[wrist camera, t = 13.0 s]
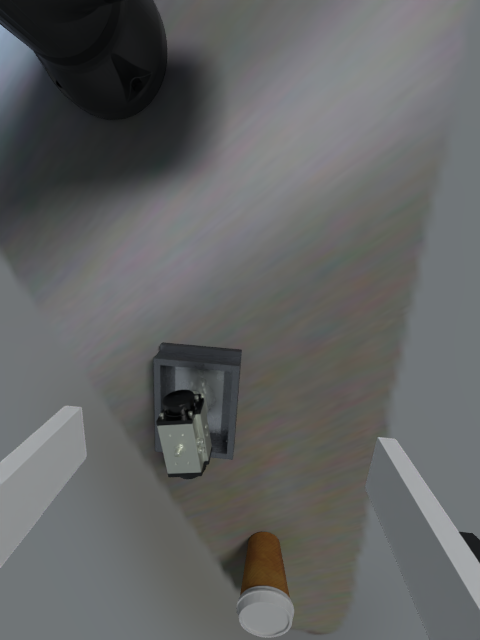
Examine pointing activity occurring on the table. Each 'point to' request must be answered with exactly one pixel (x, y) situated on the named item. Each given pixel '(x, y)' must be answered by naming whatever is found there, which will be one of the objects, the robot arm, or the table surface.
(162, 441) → the pneumatic valve
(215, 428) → the rectangular open-top bin
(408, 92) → the table surface
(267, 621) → the disposable coffee cup
